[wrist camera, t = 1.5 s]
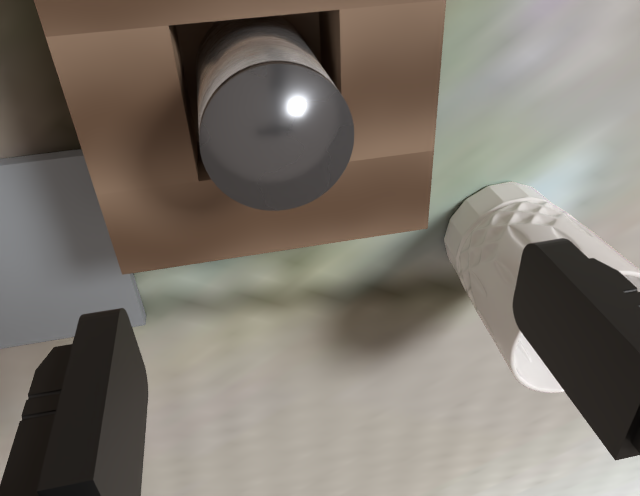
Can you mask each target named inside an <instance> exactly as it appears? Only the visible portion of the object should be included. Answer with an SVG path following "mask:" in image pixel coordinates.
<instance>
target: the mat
mask: <svg viewBox="0 0 640 496" xmlns="http://www.w3.org/2000/svg"><path fill="white" fill-rule="evenodd" d="M119 308H124V309H125V310H126V312H127V314H128V317H129V320H130V323H131V326H132V327H136V326H142V325H145V324H146V314H145V310H144V307H143V304H142V301H141V297H140V294H139V291H138V288H137V284H136V281H135V278H134V274H133V273H130V274H124V275H122V273H121V270H120V267H119V264H118V260H117V257H116V254H115V251H114V248H113V245H112V242H111V239H110V236H109V232H108V229H107V226H106V223H105V220H104V217H103V214H102V211H101V208H100V205H99V201H98V198H97V195H96V192H95V189H94V186H93V183H92V180H91V177H90V173H89V170H88V167H87V164H86V161H85V158H84V155H83V152H82V149H78V150H70V151H61V152H53V153H45V154H36V155H28V156H20V157H11V158H3V159H0V349H2V348H8V347H14V346H20V345H27V344H33V343H39V342H45V341H51V340H57V339H63V338H69V337H75V333H76V329H77V324H78V321H79V318H80V316H81V315H82V314H88V313H94V312H100V311H106V310H112V309H119Z"/></svg>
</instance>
